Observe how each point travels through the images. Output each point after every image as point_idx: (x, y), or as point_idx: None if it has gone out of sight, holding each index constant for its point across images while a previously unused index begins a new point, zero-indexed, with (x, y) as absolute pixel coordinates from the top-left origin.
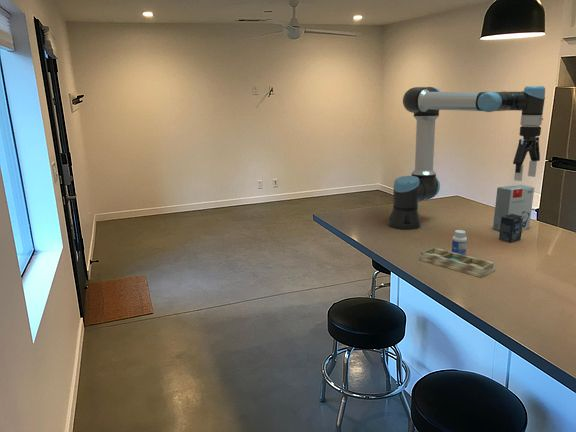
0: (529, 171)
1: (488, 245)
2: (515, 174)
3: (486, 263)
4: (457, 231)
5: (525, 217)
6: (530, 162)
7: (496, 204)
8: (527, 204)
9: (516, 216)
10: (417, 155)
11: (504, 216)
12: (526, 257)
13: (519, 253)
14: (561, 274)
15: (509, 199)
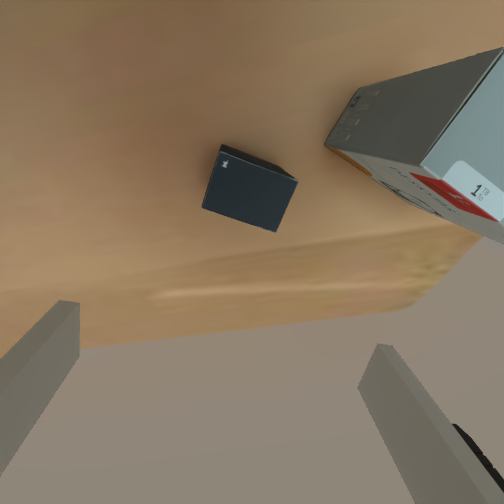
0: (397, 385)
1: (129, 128)
2: (20, 348)
3: None
4: None
5: (418, 203)
6: (465, 493)
7: (414, 77)
8: (458, 219)
9: (254, 210)
10: None
11: (223, 164)
12: (89, 255)
13: (112, 232)
14: None
15: (386, 158)
